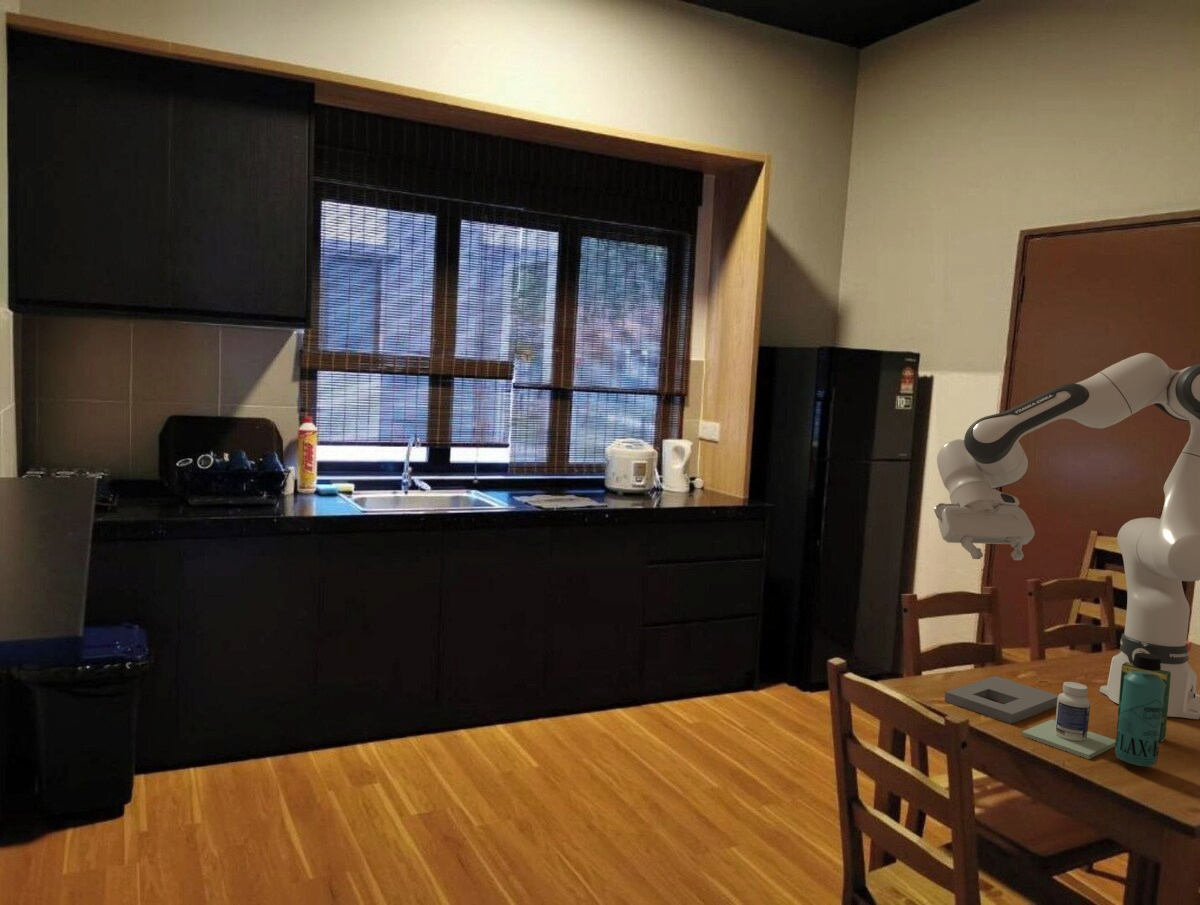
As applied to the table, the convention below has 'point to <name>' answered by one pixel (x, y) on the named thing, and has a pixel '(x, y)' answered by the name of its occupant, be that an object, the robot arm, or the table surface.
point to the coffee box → (1166, 678)
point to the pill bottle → (1072, 712)
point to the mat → (1085, 748)
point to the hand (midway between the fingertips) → (998, 558)
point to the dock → (1002, 699)
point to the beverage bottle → (1141, 713)
